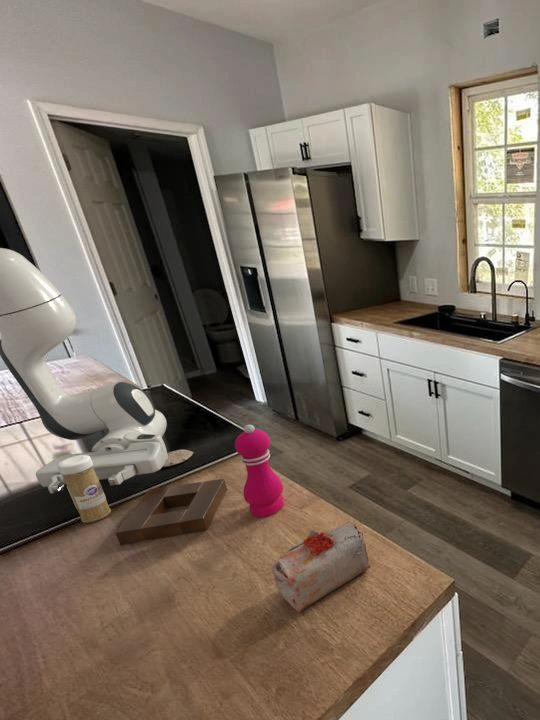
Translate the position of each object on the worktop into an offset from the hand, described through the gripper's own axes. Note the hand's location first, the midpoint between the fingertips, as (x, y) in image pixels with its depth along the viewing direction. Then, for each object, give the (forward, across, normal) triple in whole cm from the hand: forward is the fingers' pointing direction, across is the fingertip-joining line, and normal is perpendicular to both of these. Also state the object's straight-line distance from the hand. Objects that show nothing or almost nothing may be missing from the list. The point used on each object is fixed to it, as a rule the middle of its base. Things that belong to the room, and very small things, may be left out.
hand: (84, 486), depth 82 cm
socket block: (+4, +16, +7) cm, 18 cm away
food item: (+32, +46, +8) cm, 56 cm away
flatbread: (-20, +6, +7) cm, 23 cm away
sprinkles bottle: (0, 0, +8) cm, 8 cm away
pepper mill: (+7, +33, +8) cm, 34 cm away
